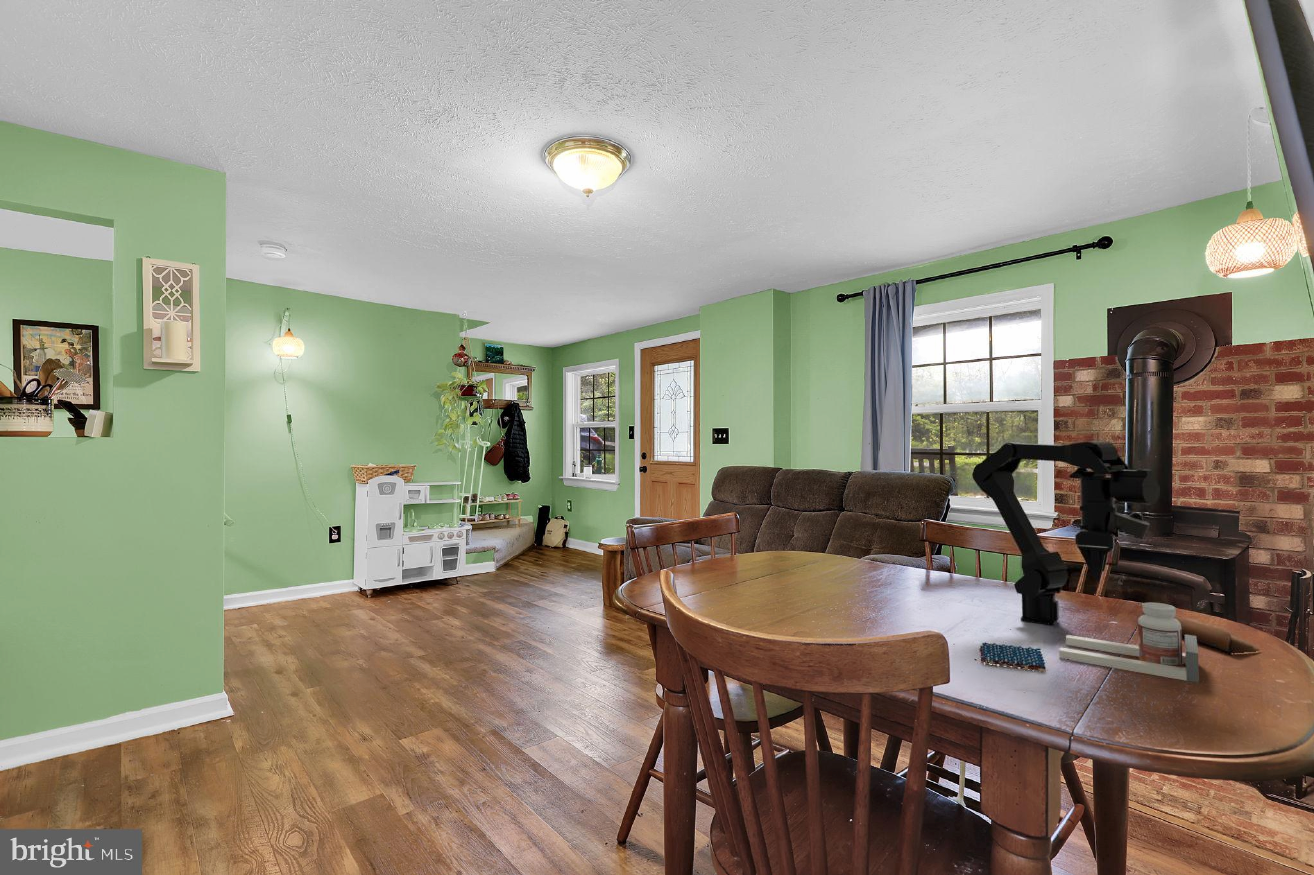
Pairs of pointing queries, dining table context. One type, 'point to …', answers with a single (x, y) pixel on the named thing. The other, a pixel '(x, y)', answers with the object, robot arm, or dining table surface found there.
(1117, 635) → the dining table surface
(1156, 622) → the pill bottle
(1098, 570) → the robot arm
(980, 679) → the dining table surface
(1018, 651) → the woven mat
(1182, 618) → the sunglasses case
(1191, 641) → the guide track
